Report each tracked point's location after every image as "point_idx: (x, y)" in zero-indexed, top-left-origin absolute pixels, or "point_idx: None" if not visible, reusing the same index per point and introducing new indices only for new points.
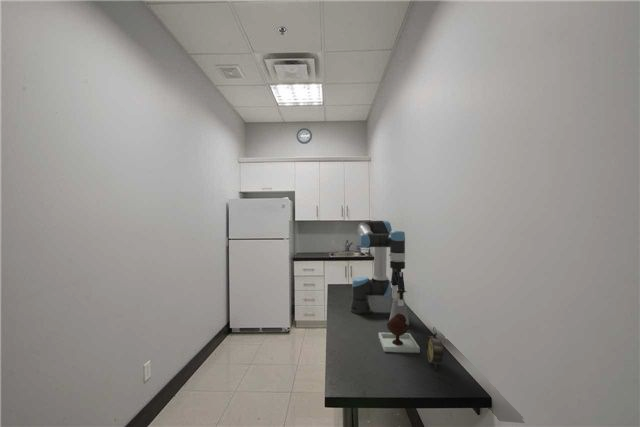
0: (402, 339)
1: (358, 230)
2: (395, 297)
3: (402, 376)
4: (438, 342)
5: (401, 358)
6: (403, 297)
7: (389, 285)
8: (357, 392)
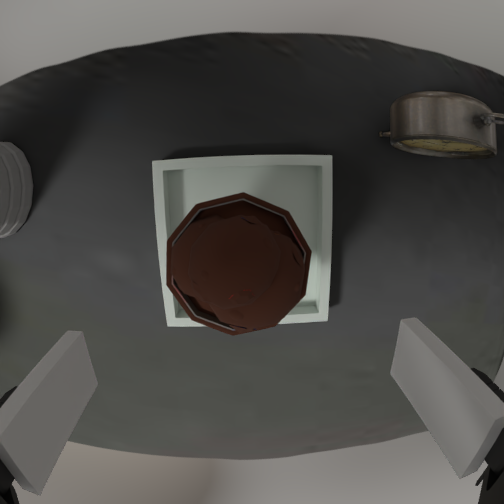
0: (192, 207)
1: None
2: (84, 353)
3: (468, 271)
4: (494, 124)
5: (375, 251)
6: (471, 372)
7: None
8: (489, 373)
